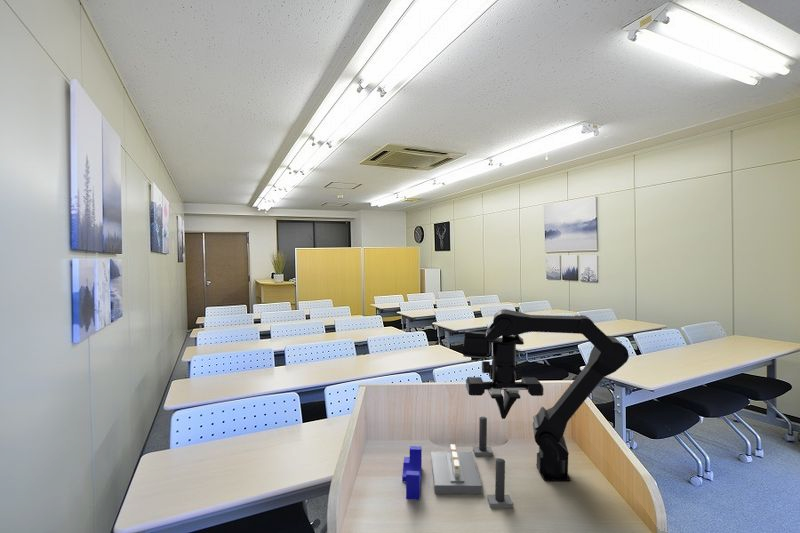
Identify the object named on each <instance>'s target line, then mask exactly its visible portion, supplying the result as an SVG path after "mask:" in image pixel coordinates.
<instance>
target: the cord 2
mask: <svg viewBox="0 0 800 533" xmlns="http://www.w3.org/2000/svg"><path fill="white" fill-rule="evenodd" d="M505 474H506V461H505V460H504V459H503V458H501V457H500V458H496V459H495V494H487V497H486V499H487V502H488V505H489V509H513V508H514V506H513V505H514V504H513V501H512V498H511V496H510V494H506V493H505V490H506V489H505V482H506V481H505V480H506V479H505V478H506V477H505V476H506V475H505Z"/></svg>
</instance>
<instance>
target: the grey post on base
mask: <svg viewBox="0 0 800 533" xmlns="http://www.w3.org/2000/svg"><path fill="white" fill-rule="evenodd" d="M487 418H488V417H486V416H480V417H479V418H478V419H479V422H478V423H479V426H478V427H479V429H478V430H479V431H478V432H479V433H478V435H479V438H478V440H479V441H478V442H479V444H478V445H477V446H476V445H475V446H472V453H473V456H475V457H493V456H494V451H493V448H492V446H487V444H488V443H487V440H488V439H487V438H488V436H487V434H488V433H487V430H488V429H487V428H488V427H487V426H488V419H487Z"/></svg>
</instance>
